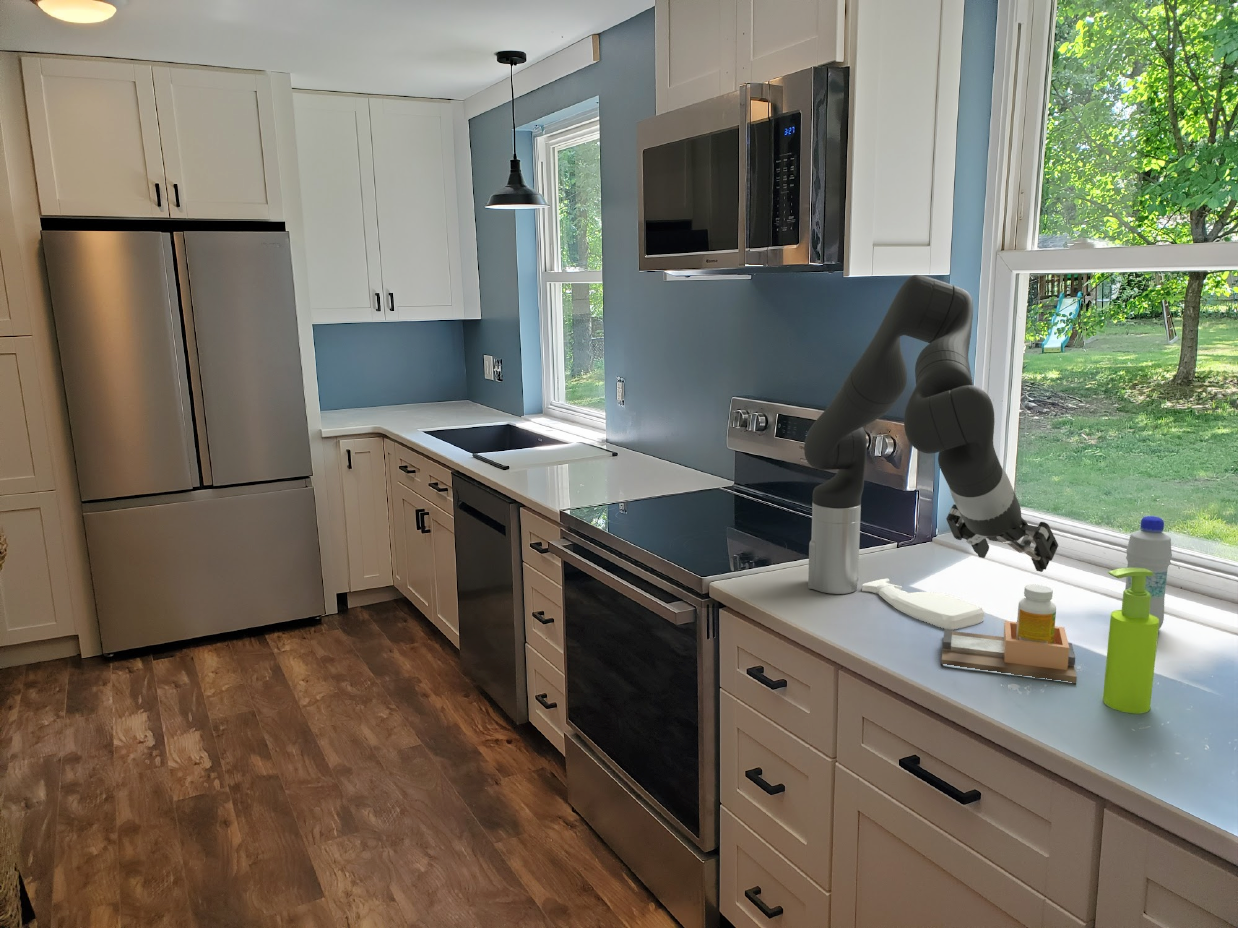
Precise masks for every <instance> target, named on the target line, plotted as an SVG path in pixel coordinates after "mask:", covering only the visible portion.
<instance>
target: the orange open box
mask: <svg viewBox="0 0 1238 928" xmlns="http://www.w3.org/2000/svg"><path fill="white" fill-rule="evenodd" d="M1003 623H1004V624H1003V636H1002V637H1003V641H1004V662H1007V663H1015V664H1023V665H1031V666H1038V667H1046V668H1054V669H1062V670H1067V669H1068V657H1069V644H1068V643H1069V641H1068V636H1067V633H1066V629H1065V627H1064V626H1063V627H1062V626H1056V625H1055V630H1054V643H1053V644H1049V643H1040V642H1032V641H1023V640H1016V630H1017V621H1009V620H1004V622H1003Z"/></svg>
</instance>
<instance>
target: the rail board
mask: <svg viewBox="0 0 1238 928" xmlns="http://www.w3.org/2000/svg"><path fill="white" fill-rule="evenodd" d="M952 635H958V636H966V637H975V638H983V639H992V640H1000V641H1003V637H1004V636H999V635H998V636H997V635H991V634H980V633H973V632H963V631H955V630H952ZM941 664H947V665H954V666H960V667H967V668H975V669H980V670H988V671H997V672H1001V673H1011V674H1014V675H1022V676H1032V677H1035V678H1045V679H1046V678H1047V679H1052V680H1061V681H1068V682H1072V683H1076V684H1077V679H1078V675H1077V672H1076V668H1075V665H1074V666H1068V669H1067V670H1062V669H1054V668H1046V667H1038V666H1031V665H1023V664H1015V663H1007V662H1004V658H1002V657H994V656H986V655H978V654H970V653H962V652H954V651H946V650H943V649H942V654H941Z"/></svg>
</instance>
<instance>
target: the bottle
mask: <svg viewBox="0 0 1238 928" xmlns="http://www.w3.org/2000/svg"><path fill="white" fill-rule="evenodd" d="M1164 528H1165V521H1164V519H1163V518H1160V517H1159V516H1154V515H1148V516H1147V515H1146V516H1143V518H1141V520H1140V529H1139V530H1135V531H1132V532H1131V533H1130V535H1129V540H1128V544H1127V547H1126V550H1125V551H1126V556H1125V559H1126V562H1127V567H1126V568H1145V569H1147V570H1149V571H1151V572H1153V576H1146V582H1145V590H1146V591H1147V592H1149V593H1150V594H1151V603H1150V613H1149V614H1151V615H1153V616H1155V617H1157V618H1158V619H1159V629H1158V631H1160V629H1161V627H1162V625H1163V624H1164V620H1165V618H1164V617H1165V597H1166V589H1167V588H1166V586H1167V579H1168V568H1169V567H1170V565H1171V560H1172V557H1173V554H1172V539H1171V536H1169V535H1168V534H1166V533H1164V532H1163V531H1164ZM1131 580H1132V576H1129V577H1125V587H1124V588H1125V589H1124V590H1126V589H1129V588H1131Z"/></svg>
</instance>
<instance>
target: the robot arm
mask: <svg viewBox="0 0 1238 928" xmlns="http://www.w3.org/2000/svg"><path fill="white" fill-rule="evenodd" d="M973 316H974V302H973V298H972V296H971V294H970V293H969V292H968V291H967V290H966V289H963V288H961V287H959V286H957V285H954V284H951V283H948V282H944V281H942V280H938V279H936V278H932V277H930V276H928V275H927V276H926V275H923V274H922V275H921V274H920V275H919V274H914V275H911V276H909V277H908V278H907V279H906V280H905V281H904V282H903V284H902V285H901V286H900V288H899V289H898V291H897V293H896V295H895V296H894V298H893V300H892V302H891V303H890V306H889V308H888V310H887V311H886V314H885V315H884V317H883V319H882V321H881V323H880V325H879V326H878V329H877V331H876V333H875V334H874V336H873V338H872V340H871V341H870V343H869V344H868V346H867V347H866V349H865V350H864V352H863V353H862V355H861V356H860V357H859V359H858V360H857V361H856V363H855V364H854V366H853V367H852V369H851V371H850V372H849V374H848V375H847V377H846V379H845V380H844V382H843V384H842V386H841V388H840V389H839V390H838V392H837V393H836V395H835V396H834V397H833V399H832V401H831V402H830V403H829V405H828V406H827V407H826V409H825V410H824V411H823V412H822V413H821V414H820V415H819V416H818V418H816V420H815V421H814V422H813V424H812V425H811V426H810V428H809V429H808V431H807V433H806V437H805V440H804V445H803V450H804V451H803V452H804V458H805V460H806V462H807V464H808V465H809V466H810V467H812V468H814V469H817V470H823V471H824V470H825V471H827V470H829V471H830V470H831V471H833V470H838V471H837V472H836V474H834V476H833V477H831V478H830V479H828V480H827V481H824V482H823V483H820V484H818V485H817V486H815V487H814V488H813V490H812V503H811V504H812V510H811V511H812V513H811V515H812V516H811V539H810V541H809V545H808V579H807V580H808V581H807V583H808V584H807V588H808V589H809V590H815V591H817V592H821V593H824V594H826V593H827V594H833V595H834V594H835V595H840V594H841V595H844V594H849V593H853V592H856V591H857V590H858V588H859V587H858V584H859V568H860V567H859V564H860V563H859V562H860V561H859V560H860V537H861V533H860V532H861V513H862V511H861V510H862V507H861V506H862V495H863V492H864V488H865V487H864V486H865V473H866V462H867V452H868V451H867V450H868V441H867V435H866V431H865V428H864V427H865V426H867V425H869V424H872V423H873V422H875V421H877V420H878V419H880V418H882V417H883V416H885V415H886V414H887V413H888V412H889V411H890V410H891V409H892V408H893V406H894V405H895V403H897V402H898V401H897V400H898V399H899V398H900V397H901V395H902V394H903V392H904V391H905V389H906V387H907V384H908V383H907V382H908V373H907V372H908V371H907V365H906V361H905V358H904V355H903V351H902V347H901V337H903V336H907V337H910V338H913V339H915V340H919V341H921V342H922V341H923V342H926V343H928V344H927V345H926V346H925V347H924V348H923V349H922V350H921V352H920V353H919V355H918V357H917V358H916V361H915V366H914V376H915V387H914V389H913V391H912V393H911V395H910V396H909V399H908V401H907V404H906V406H905V410H904V415H903V429H904V432H905V436H906V438H907V440H908V442H909V444H910V445H911V446H912V448H914V449H916V450H917V451H919V452H921V453H923V454H937V453H938V455H937V461H938V462H937V463H938V466H939V470H940V471H941V473H942V476H943V478H944V479H945V481H946V483H947V486H948V488H949V492H950V496H951V498H952V500H953V502H954V504H952V506H951V508H950V510H949V512H948V514H947V516H946V522H947V524H948V526H949V529H950V531H951V533H952V536H953V538H954V539H956V540H957V541H961V540H963V539H964V540H965V541H966V543H967V544H968V545H971V548H972V549H973V552H974V553H976V554H977V556H978V558H982V559H985V558H986V556H987V554H988V552H989V550H990V545H989V543H988V541H987V539H988V540H989V541H992V542H999V543H1002V544H1006V545H1008V546H1009V547H1010V548H1012V549H1013V550H1015V551H1016V552H1018V553H1020V554H1021V553H1024V554H1026V555H1027V556H1029V557H1030V559H1031V561H1032V564H1033V567H1034V568H1035V570H1036V571H1037V572H1040V573H1042V572H1043V571H1044V570H1047V567H1048V566H1049V563H1050V561H1053V559H1054V557H1055V555H1056V554H1055V553H1056V552H1057V549H1058V547H1059V543H1058V541H1057V539H1056V537H1055V535H1054V533H1053V531H1052V529H1051V527H1050V525H1049V523H1046V522H1045V521H1040V522H1039V524H1038V525H1037V526H1036V525H1032V524H1031V525H1030V524H1029V523H1028V522H1027V521H1026V520H1025V519H1024V518H1023V517H1022V509H1021V504H1020V503H1019V500H1018V497H1017V496H1016V493H1015V490H1014V488H1013V486H1012V483H1011V481H1010V479H1009V478H1010V477H1009V476H1008V474H1007V472H1006V471H1005V469H1004V468H1003V466H1002V465H1001V463H1000V460H999V458H998V455H997V452H996V450H995V445H994V433H995V422H996V421H995V409H994V404H993V401H992V400H991V398H990V395H989V394H988V393H987V392H986V391H985V390H983V389H982V388H980V387H979V386H976V385H974V383H973V377H972V372H971V367H970V362H969V351H970V345H971V344H970V342H971V337H972V336H971V335H972V328H973V320H974V319H973ZM1020 539H1022V540H1020ZM1019 540H1020V541H1021V542H1018V541H1019ZM1031 544H1033V545H1035V546H1034V549H1032V548H1031ZM1043 573H1044V572H1043Z"/></svg>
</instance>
